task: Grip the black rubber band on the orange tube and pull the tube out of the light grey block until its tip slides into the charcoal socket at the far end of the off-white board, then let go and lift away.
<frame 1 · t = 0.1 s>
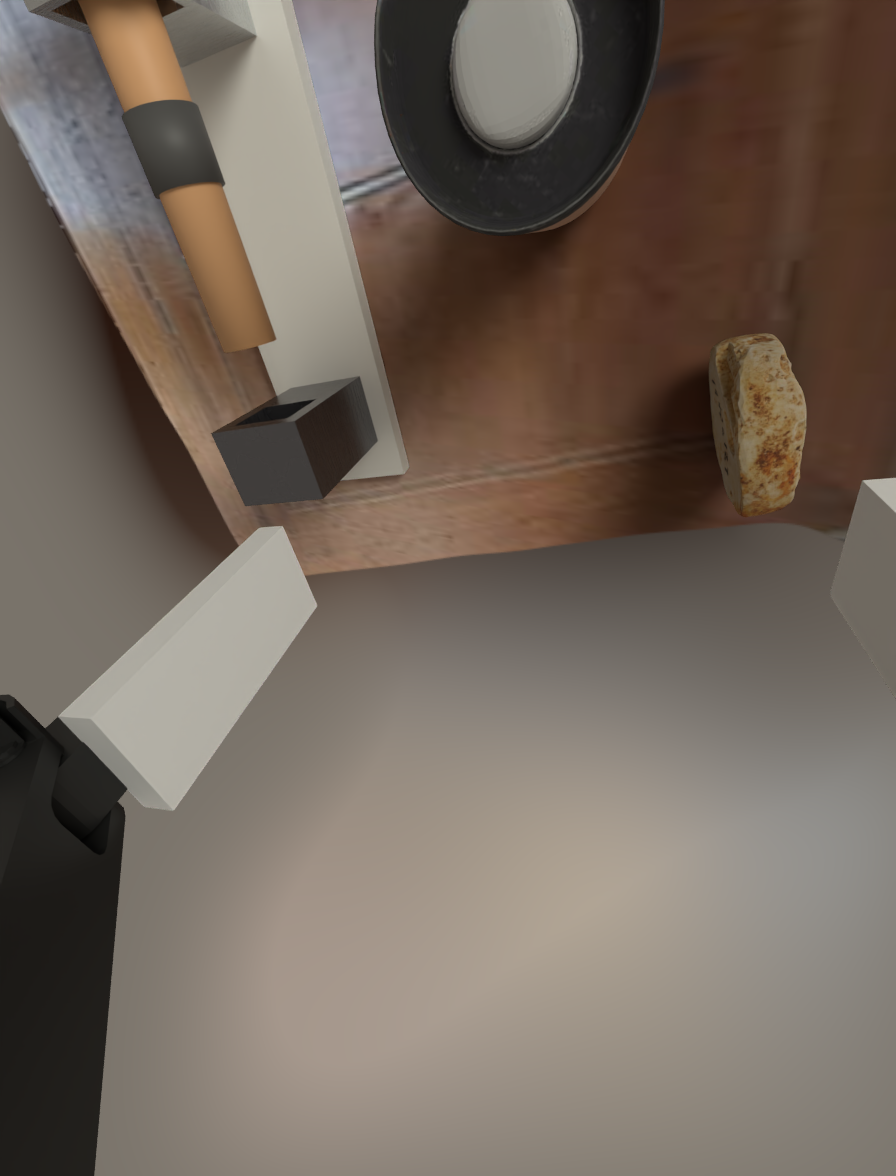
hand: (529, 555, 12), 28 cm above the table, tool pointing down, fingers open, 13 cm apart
stone disc: (734, 402, 34), on the table
charcoal socket: (342, 409, 41), resting on baseboard
orange tube: (155, 99, 24), point 9 cm above the table, slide at 0.0 cm
travel mug: (554, 146, 28), on the table
baseboard: (282, 214, 33), on the table
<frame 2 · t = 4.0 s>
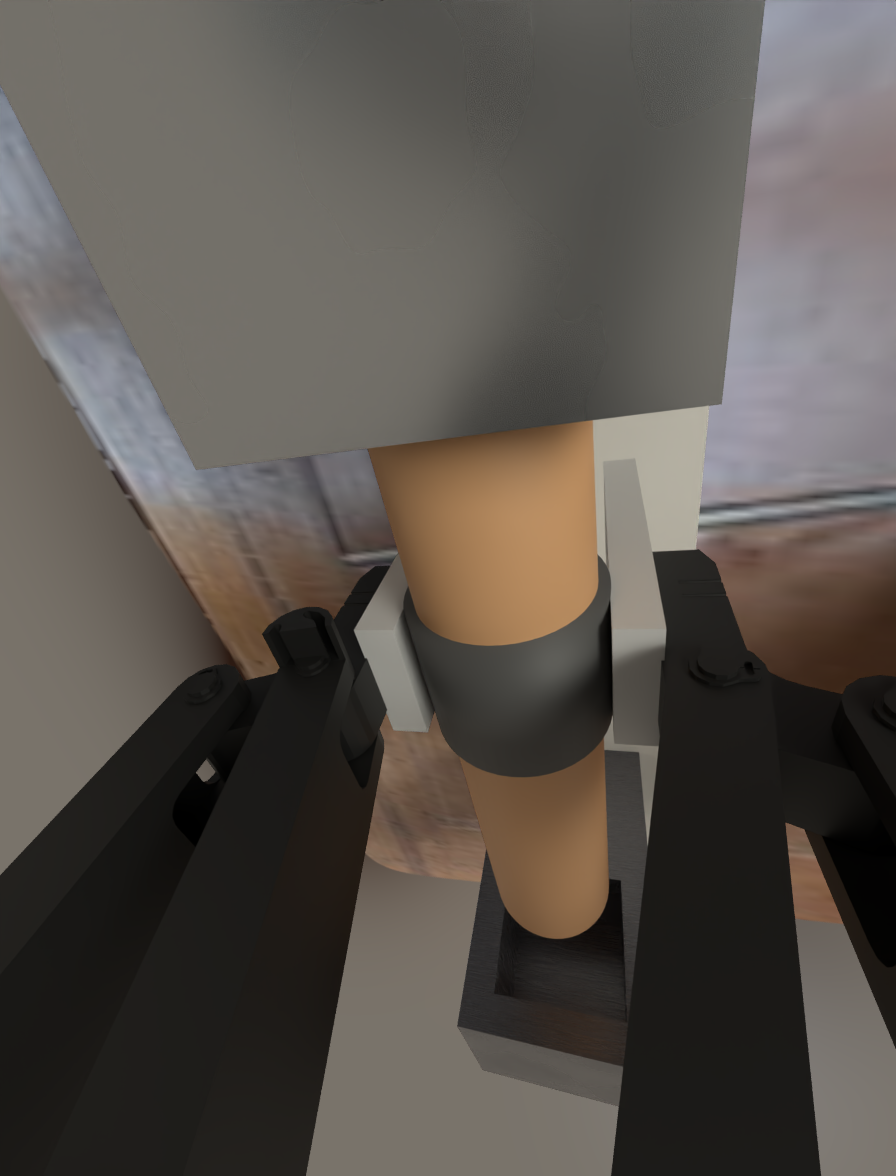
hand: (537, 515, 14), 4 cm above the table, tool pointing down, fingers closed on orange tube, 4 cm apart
charcoal socket: (572, 753, 25), resting on baseboard
orange tube: (499, 560, 8), point 9 cm above the table, slide at 0.0 cm, touching gripper
light grey block: (509, 69, 11), resting on baseboard
baseboard: (552, 529, 18), on the table
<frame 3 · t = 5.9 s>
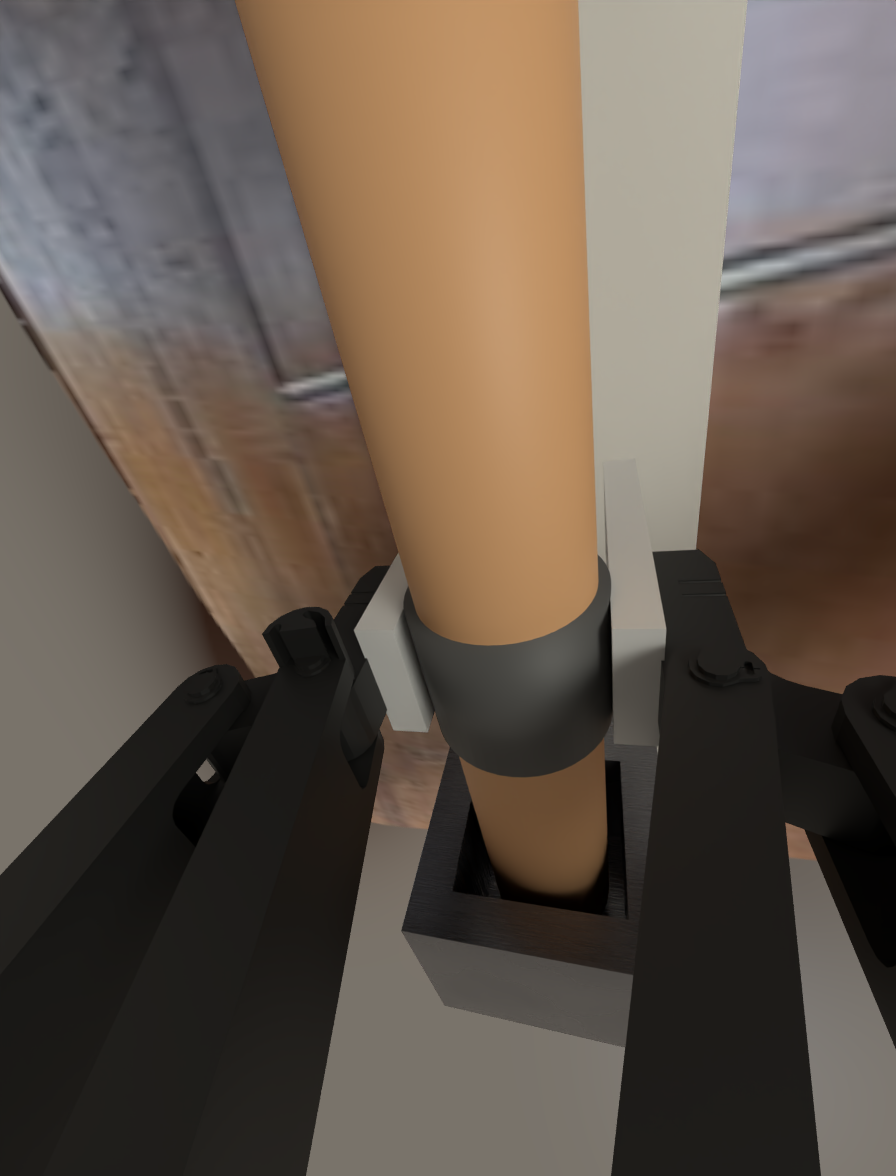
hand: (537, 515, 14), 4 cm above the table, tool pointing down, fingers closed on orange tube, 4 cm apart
charcoal socket: (563, 653, 21), resting on baseboard
orange tube: (499, 559, 8), point 9 cm above the table, slide at 6.9 cm, touching gripper
baseboard: (532, 317, 14), on the table
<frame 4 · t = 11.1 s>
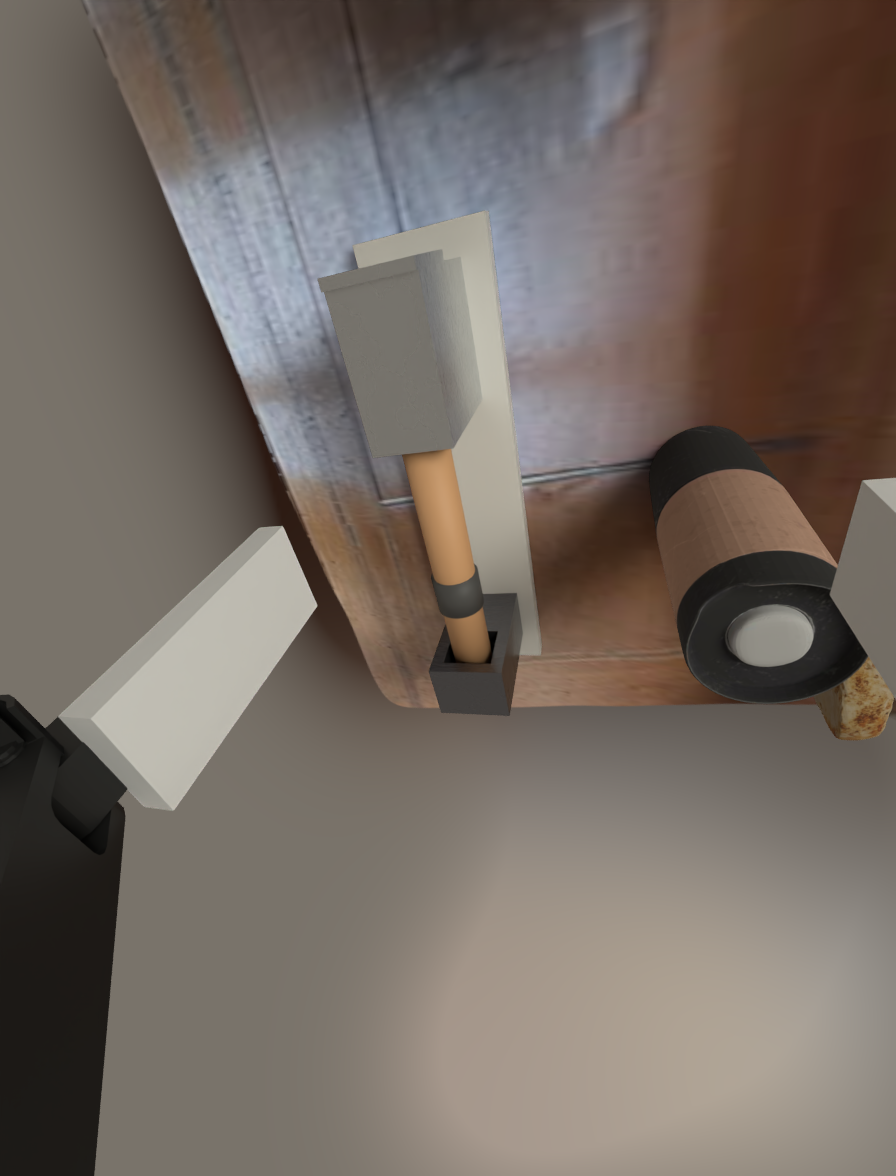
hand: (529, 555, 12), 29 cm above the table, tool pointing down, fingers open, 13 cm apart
stone disc: (820, 628, 44), on the table
charcoal socket: (492, 604, 50), resting on baseboard
orange tube: (453, 567, 37), point 9 cm above the table, slide at 7.0 cm
travel mug: (698, 470, 38), on the table
light grey block: (441, 335, 36), resting on baseboard
baseboard: (470, 486, 43), on the table
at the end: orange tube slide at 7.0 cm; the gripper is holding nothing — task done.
